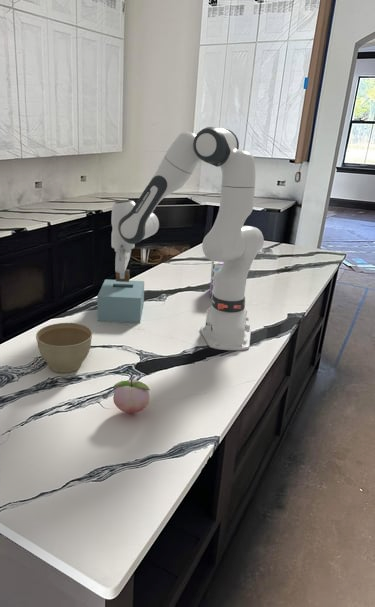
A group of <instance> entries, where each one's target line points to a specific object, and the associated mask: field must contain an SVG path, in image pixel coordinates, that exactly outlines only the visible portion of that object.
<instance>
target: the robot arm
mask: <svg viewBox="0 0 375 607" xmlns="http://www.w3.org/2000/svg"><path fill="white" fill-rule="evenodd" d="M239 148H240V143H239V139H238V137H237V135H236V134H235V133H234V132H233V131H232V130H229V129H225V128H224V127H220V126H208V127H205V128H202V129H201V130H200V131H198V132H197V133H194V132H191V131H183V132H181V133H180V134H178V136H177V137H176V138H175V139H174V141H173V142H172V143H171V144H170V146H169V148H168V150H166V153H165V155H164V156H163V158H162V159H161V161H160V163H159V165H158V167H157V169H156V171H155V173H154V174H153V175H152V178H151V179H150V181H149V183H148V184H147V185H146V187H145V189H144V190H143V192H142V193H141V195H140V196H139V198H138V199H137V201H136V202H135V201H134V200H133V199H132V200H131V199H122V200H118V201H115V202H114V203H113V205H112V208H111V221H110V222H111V223H110V224H111V227H112V229H111V230H112V231H111V240H110V241H111V248H112V249H114V252H115V260H114V261H115V263H114V266H115V267H114V268H115V269H114V270H115V273H116V272H117V273H120V279H124V278H125V270H126V269H127V267H128V265H129V261H130V258H131V254H132V249H135V247H136V246H135V245H136V244H138V243H140V242H141V241H142V240H146V239H147V238H149V237H151V236H153V235H155V234H157V232H158V230H159V228H160V221H159V218H158V216H157V214H155V213H154V212H155V210H156V207H157V206H158V205H159V203H160V202H161V201H162V200H163V199H164V198H166V197H167V196H169V195H170V194H172V193H174V192H176V191H178V190H180V189H182V188H183V186H184V185H185V184H186V183H187V181H188V180H189V179H190V177H191V175H193V172H194V171H195V169H196V167H197V166H198V164H199V163H200V162H201V161H202V162H205V163H207V164H210V165H212V166H214V167H218V168H219V167H220V169H221V186H220V187H221V190H220V200H219V201H220V202H219V208H218V212H217V215H216V218H215V221H214V223H213V226H212V227H211V229H210V230H209V232H207V234H206V235H205V236H204V237H203V240H202V245H201V246H202V252H203V254H204V256H205V258H206V259H208V260H209V261H211V262H212V261H216V262H224V263H223V265H222V266H221V268H220V269H219V270H218V271H217V273H216V275H215V284H214V294H213V295H212V299H211V306H210V307H208V308H207V309H206V316H205V317H206V318H205V324H204V325H203V326H201V327H200V329H199V330H200V333H201V335H202V336H203V338H204V340H205V341H206V343H207V344H208V346H209V348H211V349H215V350H223V351H245V350H249V349H250V346H251V345H250V343H251V335H252V334H251V333H252V331H251V330H252V329H251V324H249V323H247V322H249V318H250V317H248V310H246V308H245V306H246V297H245V292H246V285H247V279H248V275H249V272H250V269H251V266H252V265H253V262H254V260H255V259H256V256H257V255H258V253H259V252H260V251H261V250H262V248H263V247H264V244H265V243H264V242H265V241H264V240H265V238H264V235H263V233H262V231H261V230H260V229H259V228H257V227H255V226H251V225H244V224H245V223H246V220H247V218H248V217H249V216H250V215H251V214H252V212H253V209H254V202H255V201H254V200H255V191H256V163H255V157H254V156H253V155H252V154H251V153H250V152H249V151H246V150H242V149H241V150H240V149H239Z"/></svg>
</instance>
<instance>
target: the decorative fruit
mask: <svg viewBox="0 0 375 607" xmlns="http://www.w3.org/2000/svg"><path fill="white" fill-rule="evenodd" d="M113 387H114V388H115V390H114V393H113V396H112V397H113V403H114V405H115V406H116V408H117V409H118V410H120V411H121V412H122V413H126V414H137V413H139V412H141V411H143V410H144V409H145V408H147V406H148V405H149V402H150V392H149V391H151V389H150V388H149V386H148V385H147V384H146V383H144V382H142V381H140V380H136V379H132V378H131V379H128V380H121V381H118V382H116V383H115V384H114V385H113Z"/></svg>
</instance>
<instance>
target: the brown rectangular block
mask: <svg viewBox="0 0 375 607" xmlns="http://www.w3.org/2000/svg"><path fill="white" fill-rule="evenodd" d="M115 280H116V281H119V282H129V281H130V269H127V268H126V270H125V278H124V279H120V273H117V272H116V271H115Z"/></svg>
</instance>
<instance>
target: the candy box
mask: <svg viewBox="0 0 375 607" xmlns="http://www.w3.org/2000/svg"><path fill="white" fill-rule="evenodd" d="M223 263H224V262H216V261H211V269H210V270H211V272H210V283H209V284H210V287H209V293H210V299H211V300H212V295H213V294H214V284H215V275H216V273H217V271H218V270H219V269H220V268H221V266H222V265H223Z"/></svg>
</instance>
